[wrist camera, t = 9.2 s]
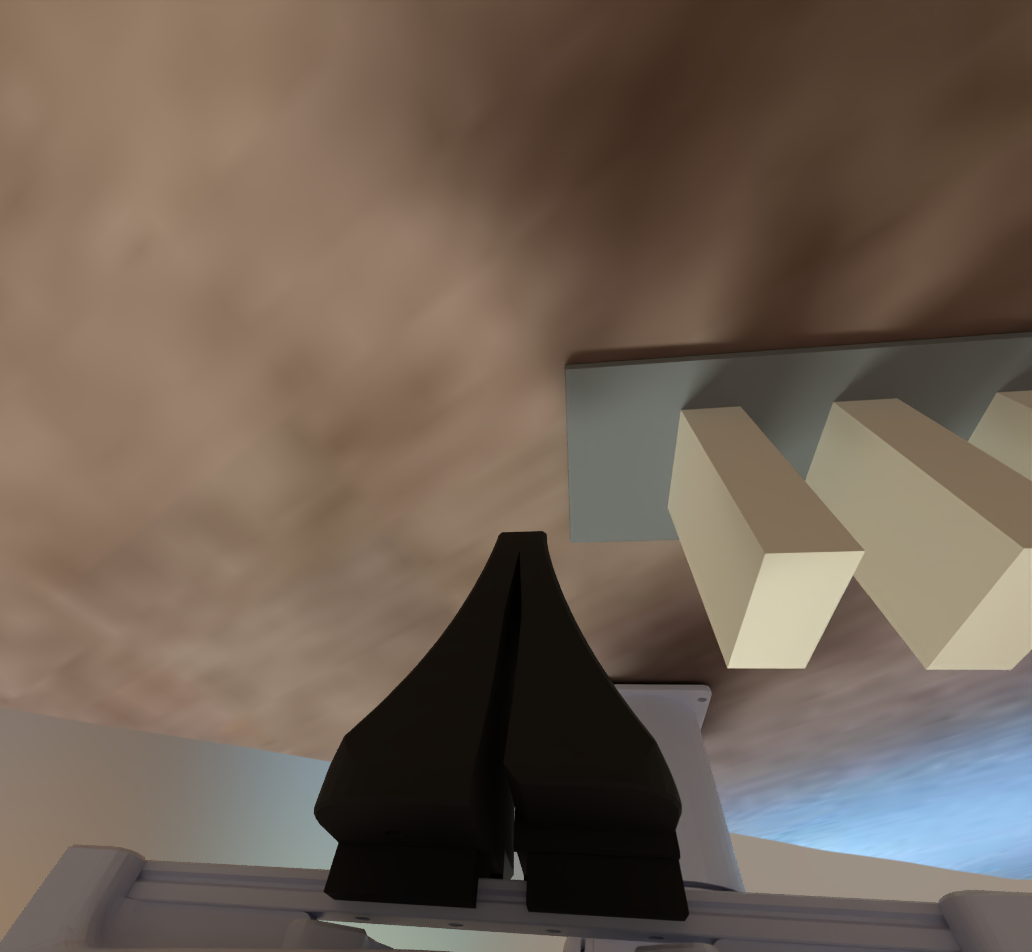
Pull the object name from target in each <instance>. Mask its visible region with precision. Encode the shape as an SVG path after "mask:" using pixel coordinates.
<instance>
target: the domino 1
mask: <svg viewBox="0 0 1032 952" xmlns="http://www.w3.org/2000/svg"><path fill="white" fill-rule="evenodd" d="M668 510H669V512H670V515H671V518H672V521H673V523H674V526H675V529H676V531H677V534H678V537H679V539H680V542H681V545H682V547H683V550H684V553H685V556H686V558H687V561H688V564H689V566H690V569H691V572H692V574H693V577H694V580H695V582H696V585H697V588H698V590H699V593H700V596H701V599H702V601H703V604H704V607H705V609H706V612H707V615H708V617H709V620H710V623H711V625H712V628H713V631H714V634H715V636H716V639H717V642H718V644H719V647H720V650H721V652H722V655H723V658H724V660H725V663H726V666H727V668H805V667H806V665H807V663H808V662H809V660H810V658H811V656H812V654H813V652H814V650H815V648H816V646H817V644H818V642H819V640H820V638H821V636H822V634H823V632H824V630H825V628H826V627H827V625H828V623H829V621H830V619H831V617H832V615H833V613H834V611H835V609H836V607H837V605H838V603H839V601H840V599H841V597H842V595H843V593H844V591H845V590H846V588H847V586H848V584H849V582H850V580H851V578H852V576H853V574H854V572H855V570H856V568H857V566H858V564H859V562H860V560H861V558H862V556H863V555H864V553H865V550H864V549H863V548H862V547H861V545H860V544H859V543H858V542H857V541H856V540H855V539H854V537H853V536H852V535H851V534H850V533H849V532H848V530H847V529H846V528H845V527H844V526H843V525H842V523H841V522H840V521H839V520H838V519H837V518H836V517H835V515H834V514H833V513H832V512H831V511H830V510H829V508H828V507H827V506H826V505H825V504H824V503H823V501H822V500H821V499H820V498H819V497H818V496H817V494H816V493H815V492H814V491H813V490H812V489H811V488H810V486H809V485H808V484H807V483H806V482H805V481H804V479H803V478H802V477H801V476H800V475H799V474H798V472H797V471H796V470H795V469H794V468H793V467H792V466H791V464H790V463H789V462H788V461H787V460H786V459H785V457H784V456H783V455H782V454H781V453H780V452H779V450H778V449H777V448H776V447H775V446H774V445H773V444H772V442H771V441H770V440H769V439H768V438H767V437H766V435H765V434H764V433H763V432H762V431H761V430H760V428H759V427H758V426H757V425H756V424H755V423H754V422H753V420H752V419H751V418H750V417H749V416H748V415H747V413H746V412H745V411H744V410H743V409H742V408H741V406H738V407H722V408H705V409H689V410H681V412H680V419H679V427H678V434H677V441H676V449H675V456H674V464H673V471H672V478H671V486H670V493H669V500H668Z"/></svg>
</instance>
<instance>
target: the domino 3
mask: <svg viewBox="0 0 1032 952" xmlns="http://www.w3.org/2000/svg"><path fill="white" fill-rule="evenodd" d="M968 442H969V443H971V444H972V445H974V446H975V447H977V448H979V449H980V450H982V451H983V452H985V453H987V454H988V455H990V456H992V457H993V458H995V459H996V460H998V461H1000V462H1001V463H1003V464H1005V465H1006V466H1008V467H1009V468H1011V469H1013V470H1014V471H1016V472H1018V473H1019V474H1021V475H1022V476H1024V477H1026V478H1027V479H1029V480H1030V481H1032V390H1030V391H1013V392H997V393H996V395H995V396H994V398H993V400H992V401H991V403H990V405H989V406H988V408H987V410H986V412H985V413H984V415H983V417H982V418H981V420H980V422H979V423H978V425H977V427H976V429H975V430H974V432H973V434H972V435H971V437H970V439H969V440H968Z"/></svg>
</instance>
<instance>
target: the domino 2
mask: <svg viewBox="0 0 1032 952" xmlns="http://www.w3.org/2000/svg"><path fill="white" fill-rule="evenodd" d="M805 482H806V483H807V484H808V485H809V486H810V488H811V489H812V490H813V491H814V492H815V493H816V494H817V496H818V497H819V498H820V499H821V500H822V501H823V503H824V504H825V505H826V506H827V507H828V508H829V510H830V511H831V512H832V513H833V514H834V515H835V517H836V518H837V519H838V520H839V521H840V522H841V523H842V525H843V526H844V527H845V528H846V529H847V530H848V532H849V533H850V534H851V535H852V536H853V537H854V539H855V540H856V541H857V542H858V543H859V544H860V545H861V547H862V548H863V549H864V550H865V553H864V555H863V556H862V558H861V560H860V562H859V564H858V566H857V568H856V570H855V572H854V574H853V576H854V577H855V579H856V580H857V581H858V582H859V584H860V585H861V586H862V588H863V589H864V590H865V591H866V593H867V594H868V595H869V597H870V598H871V599H872V600H873V602H874V603H875V604H876V606H877V607H878V608H879V609H880V611H881V612H882V613H883V615H884V616H885V617H886V618H887V620H888V621H889V622H890V624H891V625H892V626H893V627H894V629H895V630H896V631H897V632H898V634H899V635H900V636H901V638H902V639H903V640H904V641H905V643H906V644H907V645H908V647H909V648H910V649H911V650H912V652H913V653H914V654H915V656H916V657H917V658H918V659H919V661H920V662H921V663H922V665H923V666H924V667H925V668H926V670H1011V669H1012V668H1013V667H1014V666H1015V665H1016V664H1017V663H1018V662H1019V661H1020V660H1021V659H1022V658H1024V657H1025V656H1026V655H1027V654H1028V653H1029V652H1030V651H1031V650H1032V481H1030V480H1029V479H1027V478H1026V477H1024V476H1022V475H1021V474H1019V473H1018V472H1016V471H1014V470H1013V469H1011V468H1009V467H1008V466H1006V465H1005V464H1003V463H1001V462H1000V461H998V460H996V459H995V458H993V457H992V456H990V455H988V454H987V453H985V452H983V451H982V450H980V449H979V448H977V447H975V446H974V445H972V444H971V443H969V442H967V441H966V440H964V439H962V438H961V437H959V436H958V435H956V434H954V433H953V432H951V431H949V430H948V429H946V428H945V427H943V426H941V425H940V424H938V423H937V422H935V421H933V420H932V419H930V418H928V417H927V416H925V415H924V414H922V413H920V412H919V411H917V410H915V409H914V408H912V407H911V406H909V405H907V404H906V403H904V402H902V401H901V400H899V399H898V398H893V399H876V400H859V401H842V402H833V404H832V407H831V410H830V413H829V415H828V418H827V421H826V424H825V427H824V429H823V432H822V435H821V438H820V441H819V443H818V446H817V449H816V452H815V454H814V457H813V460H812V463H811V466H810V468H809V471H808V474H807V477H806V480H805Z"/></svg>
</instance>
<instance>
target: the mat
mask: <svg viewBox="0 0 1032 952" xmlns="http://www.w3.org/2000/svg"><path fill="white" fill-rule="evenodd" d="M565 383H566V415H567V448H568V480H569V513H570V540H571V543H580V542H615V541H651V540H680V539H679V537H678V534H677V531H676V529H675V526H674V523H673V521H672V518H671V515H670V512H669V510H668V500H669V493H670V486H671V478H672V471H673V464H674V456H675V449H676V441H677V434H678V427H679V419H680V412H681V410H689V409H705V408H722V407H738V406H741V408H742V409H743V410H744V411H745V412H746V413H747V415H748V416H749V417H750V418H751V419H752V420H753V422H754V423H755V424H756V425H757V426H758V427H759V428H760V430H761V431H762V432H763V433H764V434H765V435H766V437H767V438H768V439H769V440H770V441H771V442H772V444H773V445H774V446H775V447H776V448H777V449H778V450H779V452H780V453H781V454H782V455H783V456H784V457H785V459H786V460H787V461H788V462H789V463H790V464H791V466H792V467H793V468H794V469H795V470H796V471H797V472H798V474H799V475H800V476H801V477H802V478H803V479H804V481H805V480H806V477H807V474H808V471H809V468H810V466H811V463H812V460H813V457H814V454H815V452H816V449H817V446H818V443H819V441H820V438H821V435H822V432H823V429H824V427H825V424H826V421H827V418H828V415H829V413H830V410H831V407H832V404H833V402H842V401H859V400H876V399H893V398H898V399H899V400H901V401H902V402H904V403H906V404H907V405H909V406H911V407H912V408H914V409H915V410H917V411H919V412H920V413H922V414H924V415H925V416H927V417H928V418H930V419H932V420H933V421H935V422H937V423H938V424H940V425H941V426H943V427H945V428H946V429H948V430H949V431H951V432H953V433H954V434H956V435H958V436H959V437H961V438H962V439H964V440H966V441H967V442H968V440H969V439H970V437H971V435H972V434H973V432H974V430H975V429H976V427H977V425H978V423H979V422H980V420H981V418H982V417H983V415H984V413H985V412H986V410H987V408H988V406H989V405H990V403H991V401H992V400H993V398H994V396H995V395H996V393H997V392H1013V391H1030V390H1032V332H1021V333H1007V334H993V335H979V336H965V337H951V338H937V339H923V340H909V341H895V342H881V343H866V344H852V345H838V346H824V347H810V348H796V349H782V350H768V351H754V352H740V353H726V354H712V355H698V356H684V357H670V358H656V359H642V360H628V361H614V362H600V363H586V364H572V365H565Z"/></svg>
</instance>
